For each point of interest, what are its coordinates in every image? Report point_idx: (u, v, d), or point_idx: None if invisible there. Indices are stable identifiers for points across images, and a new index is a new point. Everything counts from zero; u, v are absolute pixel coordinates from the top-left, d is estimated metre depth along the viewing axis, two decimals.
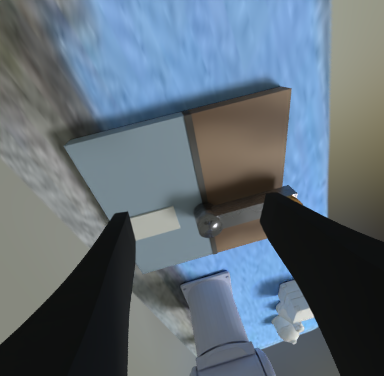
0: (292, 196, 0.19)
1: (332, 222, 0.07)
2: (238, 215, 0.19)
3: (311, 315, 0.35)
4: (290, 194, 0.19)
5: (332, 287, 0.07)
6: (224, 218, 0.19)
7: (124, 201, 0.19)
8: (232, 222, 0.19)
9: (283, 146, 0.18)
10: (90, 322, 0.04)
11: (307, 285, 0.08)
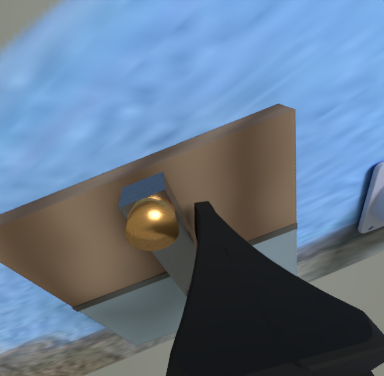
0: (128, 219, 0.08)
1: (238, 237, 0.07)
2: (186, 276, 0.11)
3: None
4: None
5: None
6: None
7: None
8: None
9: (56, 208, 0.10)
10: (252, 289, 0.05)
11: None
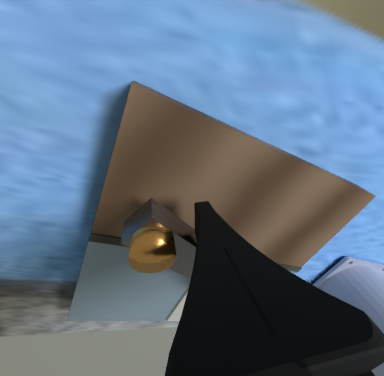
0: None
1: (238, 237, 0.07)
2: None
3: None
4: None
5: None
6: None
7: (152, 308, 0.17)
8: None
9: (231, 135, 0.10)
10: (251, 289, 0.05)
11: None
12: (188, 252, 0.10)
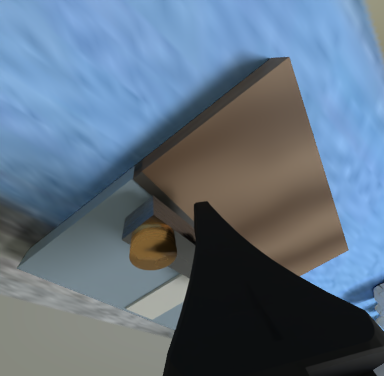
0: None
1: (239, 237, 0.07)
2: None
3: None
4: None
5: None
6: None
7: (123, 288, 0.15)
8: None
9: (311, 147, 0.11)
10: (250, 289, 0.05)
11: None
12: (188, 250, 0.10)
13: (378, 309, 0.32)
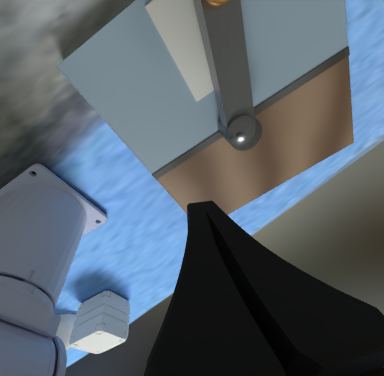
0: None
1: (246, 236, 0.07)
2: (231, 90, 0.12)
3: (97, 348, 0.25)
4: None
5: None
6: (234, 112, 0.13)
7: None
8: (244, 96, 0.13)
9: (306, 167, 0.20)
10: (237, 292, 0.05)
11: None
12: (234, 26, 0.10)
13: None
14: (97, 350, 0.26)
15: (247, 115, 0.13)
